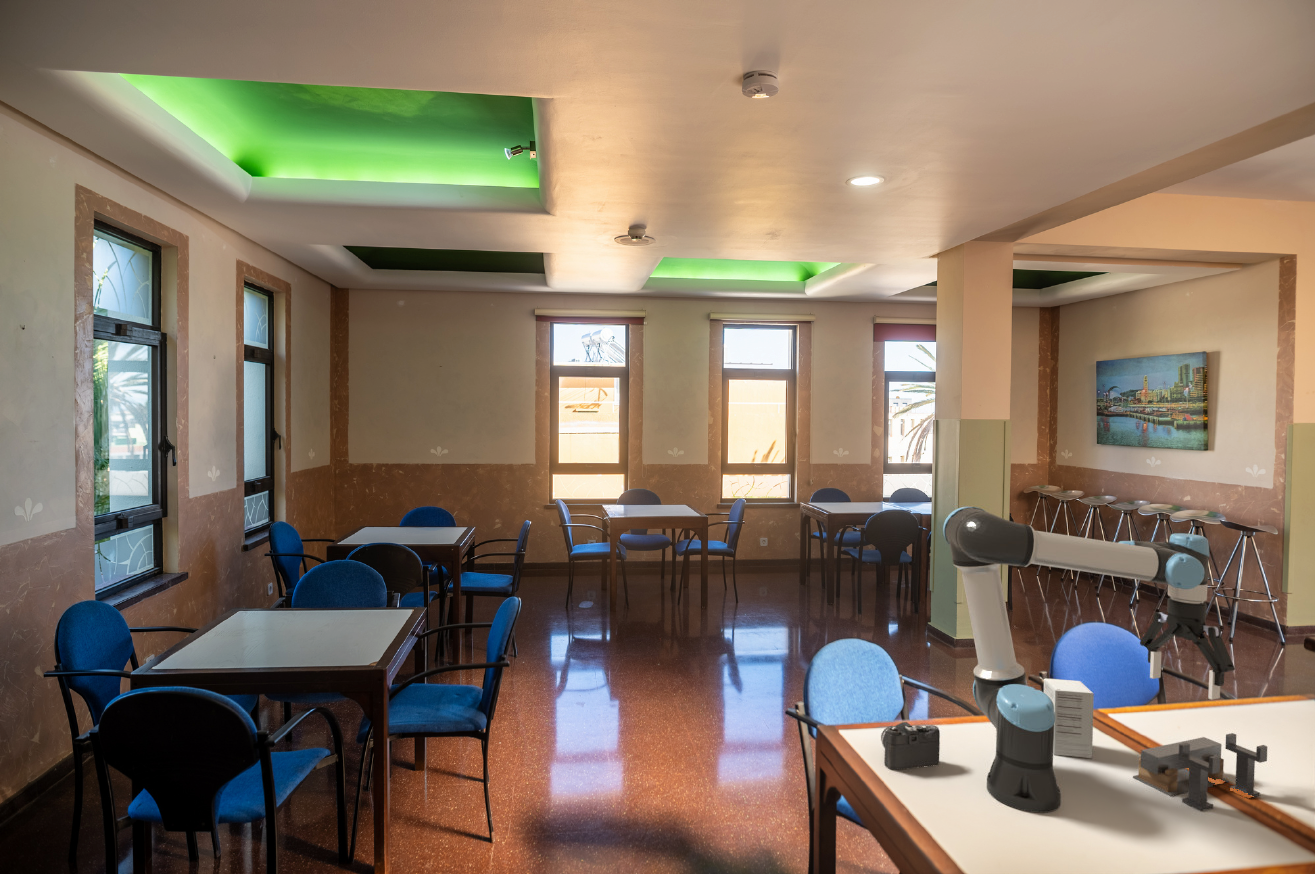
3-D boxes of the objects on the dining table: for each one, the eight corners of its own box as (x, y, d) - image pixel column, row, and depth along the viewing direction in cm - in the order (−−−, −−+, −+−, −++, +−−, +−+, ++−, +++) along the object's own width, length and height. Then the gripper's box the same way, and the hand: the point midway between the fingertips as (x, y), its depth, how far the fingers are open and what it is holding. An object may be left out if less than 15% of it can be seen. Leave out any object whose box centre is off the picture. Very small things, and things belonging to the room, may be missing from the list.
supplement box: (1093, 759, 182) (1095, 693, 181) (1053, 755, 184) (1055, 690, 183) (1079, 742, 191) (1080, 680, 191) (1041, 738, 193) (1043, 677, 193)
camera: (917, 746, 188) (917, 709, 187) (943, 766, 177) (944, 726, 177) (868, 752, 184) (869, 713, 184) (892, 772, 174) (893, 732, 173)
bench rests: (1170, 796, 164) (1171, 773, 164) (1132, 777, 173) (1133, 756, 172) (1228, 782, 171) (1229, 760, 171) (1189, 764, 179) (1190, 744, 179)
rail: (1157, 774, 166) (1158, 757, 166) (1140, 766, 170) (1141, 749, 170) (1220, 760, 174) (1221, 743, 174) (1203, 752, 177) (1204, 736, 177)
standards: (1208, 814, 157) (1210, 758, 156) (1174, 798, 163) (1176, 744, 163) (1267, 799, 163) (1269, 745, 163) (1233, 783, 170) (1234, 732, 170)
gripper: (1256, 611, 160) (1252, 705, 161) (1146, 586, 184) (1143, 668, 184) (1234, 614, 158) (1230, 709, 158) (1125, 588, 181) (1122, 671, 182)
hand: (1183, 687), depth 171 cm, fingers open, 13 cm apart
